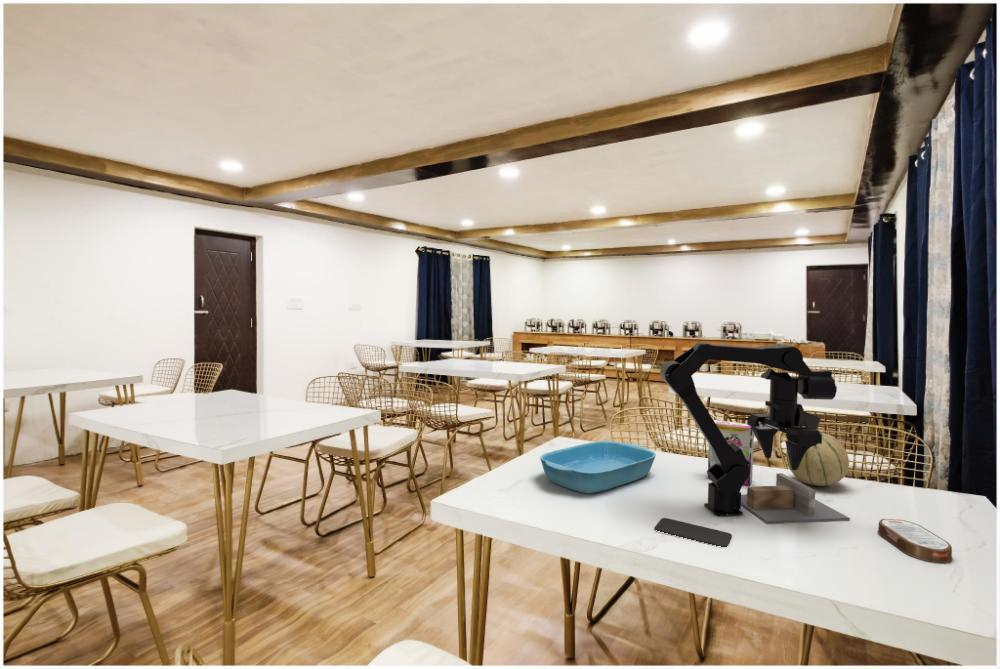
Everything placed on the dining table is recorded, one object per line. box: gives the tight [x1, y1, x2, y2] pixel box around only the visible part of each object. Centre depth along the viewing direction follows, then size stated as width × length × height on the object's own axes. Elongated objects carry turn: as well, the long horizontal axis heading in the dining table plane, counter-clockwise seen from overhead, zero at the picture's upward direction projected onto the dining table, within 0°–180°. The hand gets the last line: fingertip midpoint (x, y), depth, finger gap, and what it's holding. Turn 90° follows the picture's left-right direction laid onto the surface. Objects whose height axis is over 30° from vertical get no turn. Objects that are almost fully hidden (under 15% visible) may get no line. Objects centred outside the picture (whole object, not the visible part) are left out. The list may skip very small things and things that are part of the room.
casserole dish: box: [540, 440, 657, 494], centre depth 146 cm, size 37×22×7 cm, turn 129°
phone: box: [654, 517, 733, 548], centre depth 111 cm, size 7×1×15 cm
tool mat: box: [741, 493, 851, 525], centre depth 124 cm, size 20×16×1 cm
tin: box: [877, 518, 953, 564], centre depth 105 cm, size 15×3×8 cm
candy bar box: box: [707, 419, 755, 487], centre depth 143 cm, size 11×5×16 cm, turn 58°
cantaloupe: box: [785, 431, 850, 487], centre depth 140 cm, size 15×15×15 cm
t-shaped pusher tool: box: [746, 472, 816, 516], centre depth 124 cm, size 12×12×6 cm
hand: (780, 463), depth 120 cm, fingers open, 9 cm apart
